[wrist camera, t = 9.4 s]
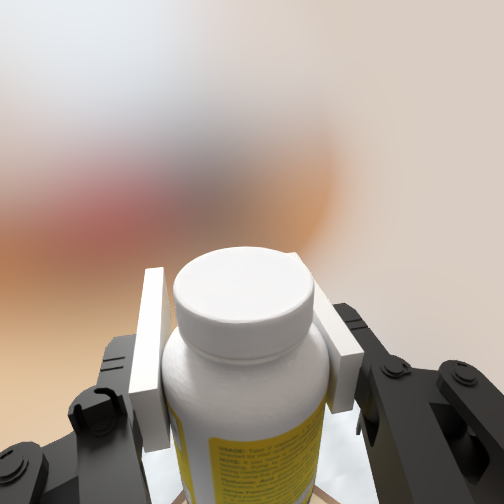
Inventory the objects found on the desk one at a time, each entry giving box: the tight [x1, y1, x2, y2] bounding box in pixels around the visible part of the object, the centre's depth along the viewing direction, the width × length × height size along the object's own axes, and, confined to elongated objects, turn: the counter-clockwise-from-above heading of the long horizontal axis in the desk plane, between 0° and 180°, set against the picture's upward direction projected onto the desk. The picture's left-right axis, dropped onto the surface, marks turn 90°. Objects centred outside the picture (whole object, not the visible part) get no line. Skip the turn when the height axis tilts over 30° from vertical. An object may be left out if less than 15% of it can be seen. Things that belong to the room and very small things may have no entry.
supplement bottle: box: [161, 247, 330, 504], centre depth 12 cm, size 5×5×10 cm
